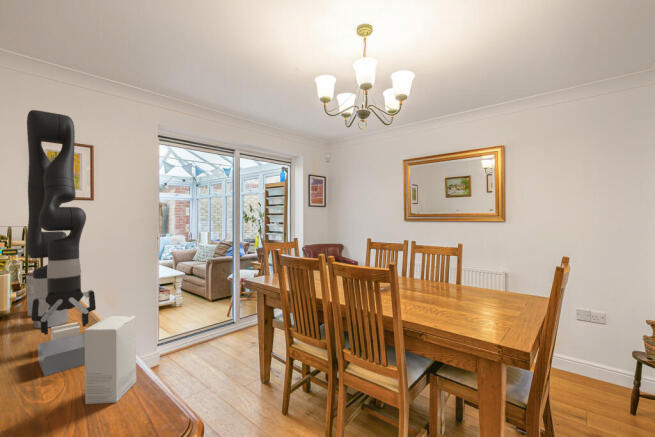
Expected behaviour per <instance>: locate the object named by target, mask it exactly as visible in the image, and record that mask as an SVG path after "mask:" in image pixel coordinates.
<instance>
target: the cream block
mask: <svg viewBox="0 0 655 437" xmlns="http://www.w3.org/2000/svg"><path fill="white" fill-rule="evenodd" d="M78 334H81V326H80V324H79V323H78V322H77V321H76V322H72V323H71V322H70V323H67V324H66V323H65V324H61V325H57V326H53V327H50V341H52V340H57V339H61V338H65V337H70V336H74V335H78Z"/></svg>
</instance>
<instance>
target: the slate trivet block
mask: <svg viewBox="0 0 655 437" xmlns="http://www.w3.org/2000/svg"><path fill="white" fill-rule="evenodd" d="M37 346H38V347H37V352H38V354H37V356H38V360H37V361H38V363H39V366H40V369H41V371H42V373H43V376H44V377H48V376H52V375H55V374H58V373H60V372H65V371H68V370H71V369H75V368H78V367H82V366H85V332H84V333H80V334H78V335H74V336H70V337H65V338H61V339H57V340H52V341H51V340H48V341H44V342H39V343H38V344H37Z"/></svg>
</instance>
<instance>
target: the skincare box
mask: <svg viewBox="0 0 655 437" xmlns="http://www.w3.org/2000/svg"><path fill="white" fill-rule="evenodd" d="M136 318H137V316H136V315H115V316H113V315H111V316H106V317H105V318H103V319H101V320H99V321H98V322H96V323H95V324H93V325H91V326H88V327H87V328H85V329H83V330H84V333H85V365H84V384H85V385H84V388H85V389H84V393H85V394H84V396H85V397H84V399H85V405H94V404H98V405H99V404H113V403H114V404H115V403H118V402H119V401H120V400H121V398H122V397H123V396H125V394H126V393H127V392H128V391H129V390H130V389H131V388H132V387H133V386H134V385H135V384H136V383H137V351H136V350H137V345H136V344H137V343H136V342H137V339H136V338H137V335H136V333H137V331H136V329H137V328H136V325H137V324H136V322H137V321H136Z"/></svg>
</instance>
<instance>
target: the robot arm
mask: <svg viewBox="0 0 655 437" xmlns="http://www.w3.org/2000/svg"><path fill="white" fill-rule="evenodd" d="M75 130H76V129H75V125H74V121H73V119H72V118H71V117H70V116H69V115H65V114H60V113H56V112H51V111H49V112H48V111H45V110H36V109H31V110H30V111H28V113H27V117H26V132H27V145H28V147H27V148H28V176H27V177H28V178H27V199H28V205H27V206H28V220H27V221H28V224H27V233H26V234H27V235H26V245H25V246H26V253H27V256H28V257H29V258H31V259H46V258H47V264H45V265H43V266H41V267H38V268H35V269H34V270H33V271H32V274H33V301H32V317H31V318H30V319H31V321H32V322H33V328H34V329H35V328H36V329H40V333H41V334H43V335H44V336H46V335H49V328H51V327H56V326H61V325H65V324H66V323H68V322H69V310H72V309H73V308H77V309H78V310H79V311H80V312H81V326H82V327H83V328H84V327H87V325H88V324H89V314H90V312H92V311H93V312H94V311H95V310H97V309H96V308H97V306H96V296H95V291H93V289H89V290H88V291H84V292H83V291H82V277H81V276H82V275H81V274H82V268H81V261H80V242H81V236H82V233H83V230H84V227H85V224H86V220H87V214H86V212H85V211H84V209H83V208H81V207H77V206H61V205H62V204H65V203H66V204H67V203H70V202H73V201H74V200H75V198H76V196H77V195H76V186H75V177H74V176H75V175H74V162H75V143H76V142H75V138H76V137H75V136H76V135H75V134H76V132H75ZM42 142H46V143H55V144H61V149H60V151H59V152H58V154H57V155H56V157H55V158H54V159H53V160H52V161H51V160H50V159H49V157H48V156H47V154H46V152H45V151H44V148H43V145H42ZM42 230H44V231H42ZM65 231H70V232H69V234H68V235H67V233H66V232H65ZM83 297H85V299H88V305H89V306H88V307H85V306H84V305H83V304H81V302H80V301H81V300H82V298H83Z"/></svg>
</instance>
